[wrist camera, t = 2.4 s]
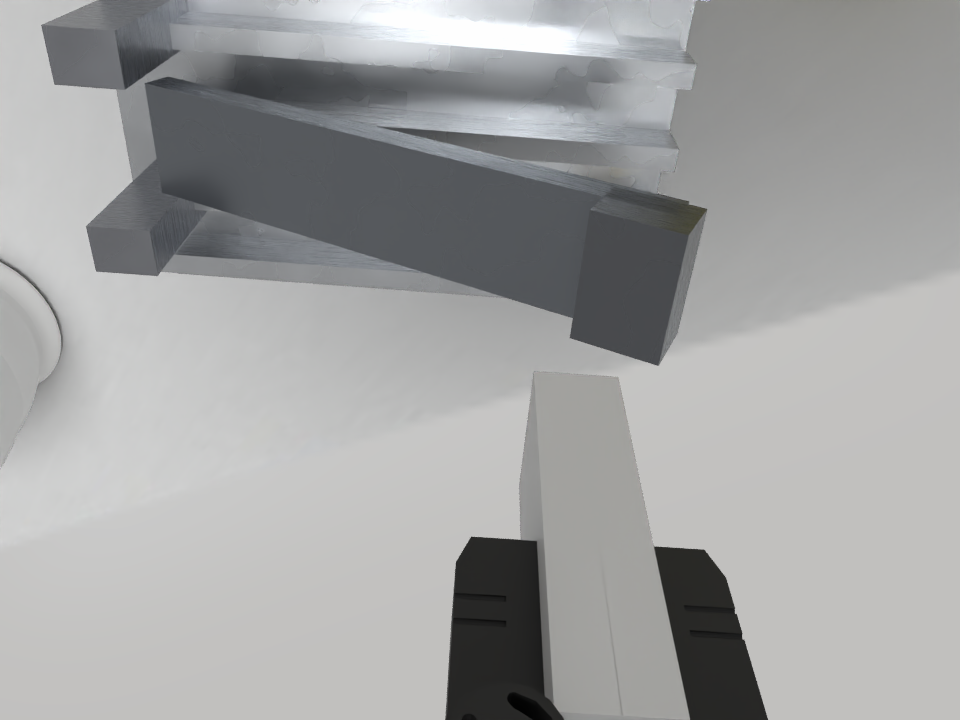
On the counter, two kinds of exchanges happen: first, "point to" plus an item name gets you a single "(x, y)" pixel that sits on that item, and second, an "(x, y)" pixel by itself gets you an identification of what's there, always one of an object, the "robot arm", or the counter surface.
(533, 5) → the heatsink block
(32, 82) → the counter surface
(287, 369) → the counter surface
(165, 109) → the dark grey flat bar
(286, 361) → the counter surface
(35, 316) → the jar
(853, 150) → the counter surface
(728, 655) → the robot arm
